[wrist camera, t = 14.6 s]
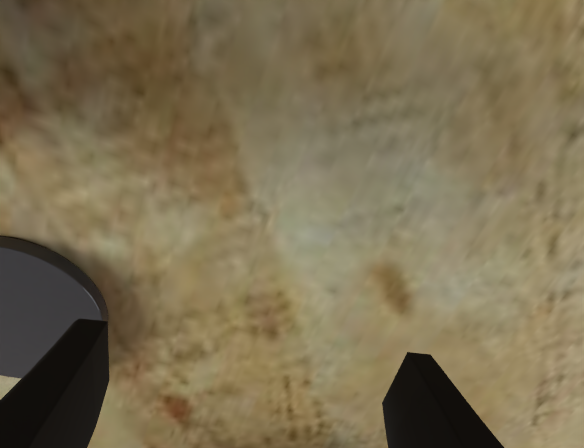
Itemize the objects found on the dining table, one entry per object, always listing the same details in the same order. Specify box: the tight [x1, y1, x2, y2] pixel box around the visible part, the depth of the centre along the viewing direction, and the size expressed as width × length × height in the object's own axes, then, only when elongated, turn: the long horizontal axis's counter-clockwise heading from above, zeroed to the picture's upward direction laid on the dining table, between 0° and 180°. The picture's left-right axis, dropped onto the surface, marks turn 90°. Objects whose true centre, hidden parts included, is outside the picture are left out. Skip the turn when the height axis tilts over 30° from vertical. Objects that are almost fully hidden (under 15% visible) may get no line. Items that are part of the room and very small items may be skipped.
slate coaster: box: [0, 236, 108, 378], centre depth 22 cm, size 9×9×1 cm
